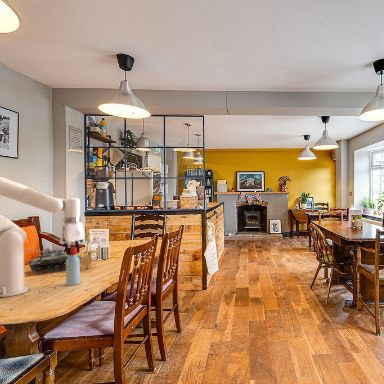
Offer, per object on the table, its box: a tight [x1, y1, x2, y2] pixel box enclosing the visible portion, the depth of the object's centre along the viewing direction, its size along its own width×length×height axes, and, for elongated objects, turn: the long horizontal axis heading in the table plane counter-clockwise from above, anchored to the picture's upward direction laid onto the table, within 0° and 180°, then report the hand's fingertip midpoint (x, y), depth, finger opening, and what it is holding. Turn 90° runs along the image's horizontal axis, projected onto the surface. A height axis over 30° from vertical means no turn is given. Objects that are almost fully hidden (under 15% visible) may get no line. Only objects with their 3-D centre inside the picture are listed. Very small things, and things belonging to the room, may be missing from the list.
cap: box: [70, 246, 78, 255], centre depth 157 cm, size 4×4×4 cm
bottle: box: [65, 254, 81, 286], centre depth 157 cm, size 6×6×20 cm
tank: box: [25, 247, 83, 275], centre depth 185 cm, size 16×31×15 cm, turn 132°
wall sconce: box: [80, 230, 98, 270], centre depth 187 cm, size 14×10×25 cm
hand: (72, 253), depth 157 cm, fingers closed on cap, 3 cm apart
